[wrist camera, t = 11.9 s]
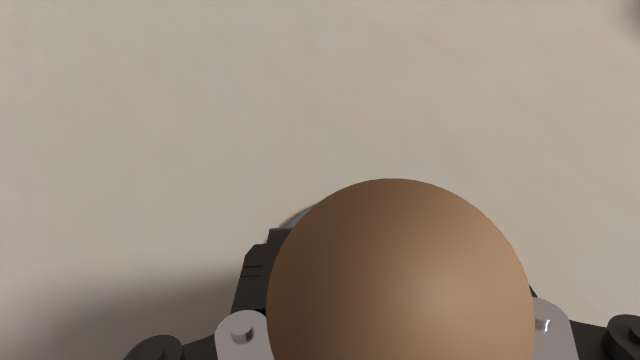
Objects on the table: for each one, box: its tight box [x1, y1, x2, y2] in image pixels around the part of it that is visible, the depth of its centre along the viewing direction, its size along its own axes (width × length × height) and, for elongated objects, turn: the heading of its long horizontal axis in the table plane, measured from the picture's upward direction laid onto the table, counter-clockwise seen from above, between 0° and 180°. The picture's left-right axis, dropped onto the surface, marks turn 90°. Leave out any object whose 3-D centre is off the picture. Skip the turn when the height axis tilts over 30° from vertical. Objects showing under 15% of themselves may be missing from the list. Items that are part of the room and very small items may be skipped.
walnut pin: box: [266, 179, 535, 360], centre depth 12 cm, size 5×5×10 cm
